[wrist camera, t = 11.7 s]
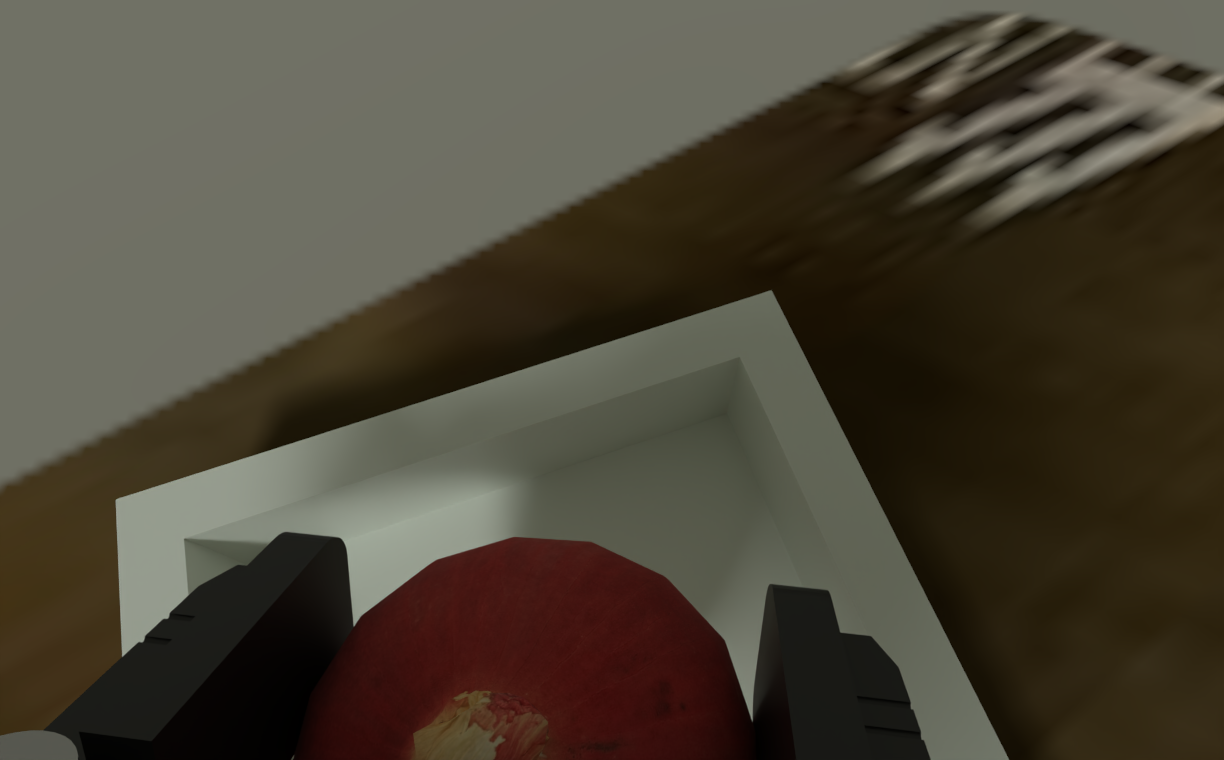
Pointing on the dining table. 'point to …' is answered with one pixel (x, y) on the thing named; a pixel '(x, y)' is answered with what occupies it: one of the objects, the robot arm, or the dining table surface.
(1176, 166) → the dining table surface
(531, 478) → the bin
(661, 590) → the onion
